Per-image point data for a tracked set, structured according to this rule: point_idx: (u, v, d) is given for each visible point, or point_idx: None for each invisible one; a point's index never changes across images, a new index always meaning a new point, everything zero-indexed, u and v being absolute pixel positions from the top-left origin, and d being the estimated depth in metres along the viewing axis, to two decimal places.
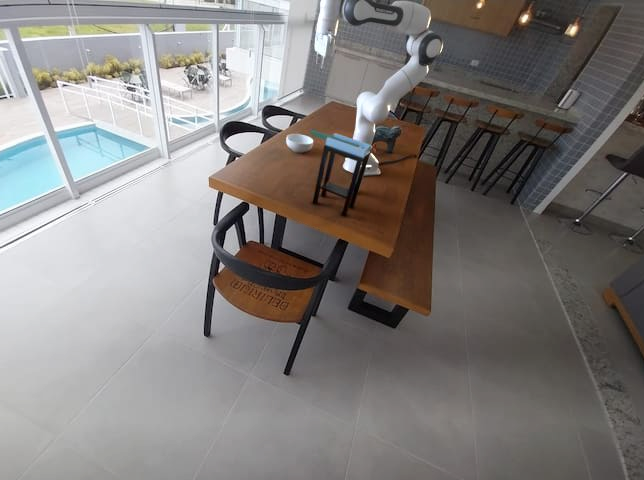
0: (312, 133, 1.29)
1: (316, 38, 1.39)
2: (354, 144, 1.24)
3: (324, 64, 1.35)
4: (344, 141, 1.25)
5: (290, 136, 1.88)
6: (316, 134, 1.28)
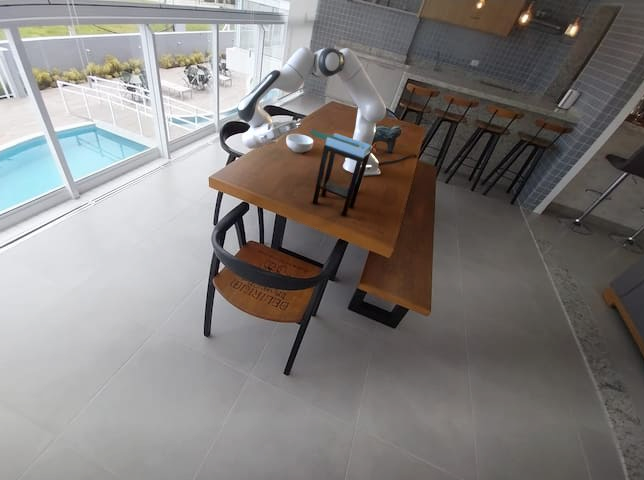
0: (312, 133, 1.29)
1: (288, 131, 1.43)
2: (354, 144, 1.24)
3: (285, 128, 1.29)
4: (344, 141, 1.25)
5: (290, 136, 1.87)
6: (316, 134, 1.28)
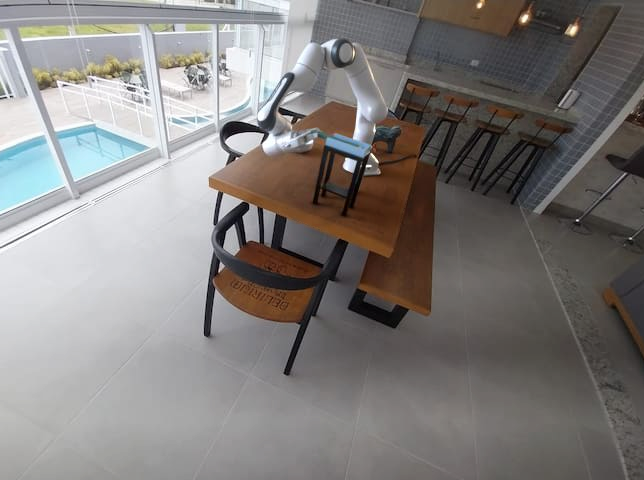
0: (312, 133, 1.29)
1: None
2: (354, 144, 1.24)
3: (313, 135, 1.28)
4: (344, 141, 1.25)
5: None
6: None
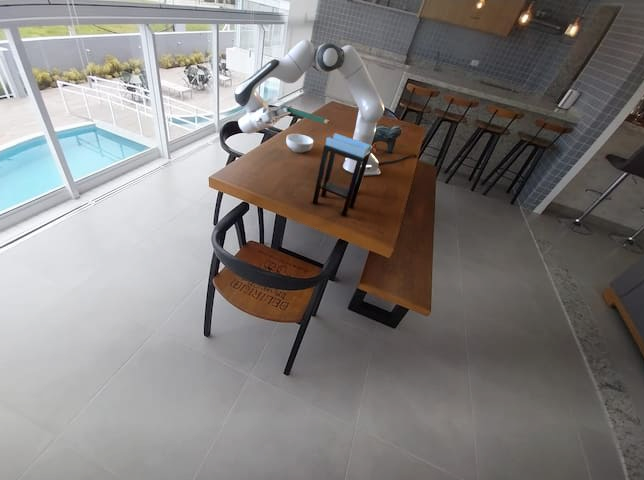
0: (282, 108, 1.36)
1: (283, 115, 1.47)
2: (321, 117, 1.31)
3: (283, 110, 1.35)
4: (312, 115, 1.32)
5: (290, 136, 1.87)
6: None
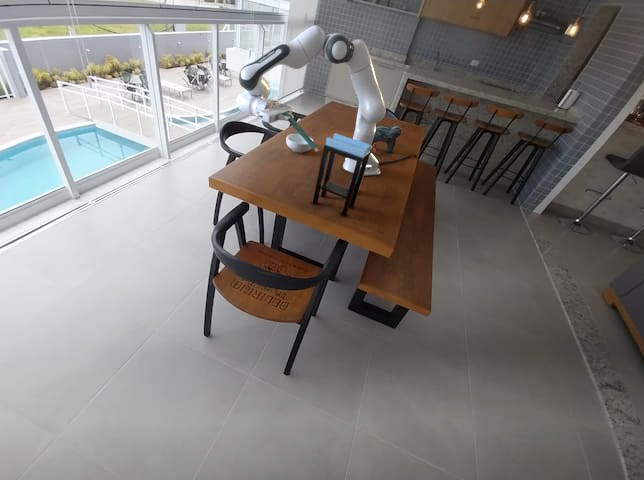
0: (284, 115, 1.42)
1: None
2: (314, 144, 1.44)
3: (284, 118, 1.41)
4: (307, 137, 1.43)
5: (290, 136, 1.87)
6: None
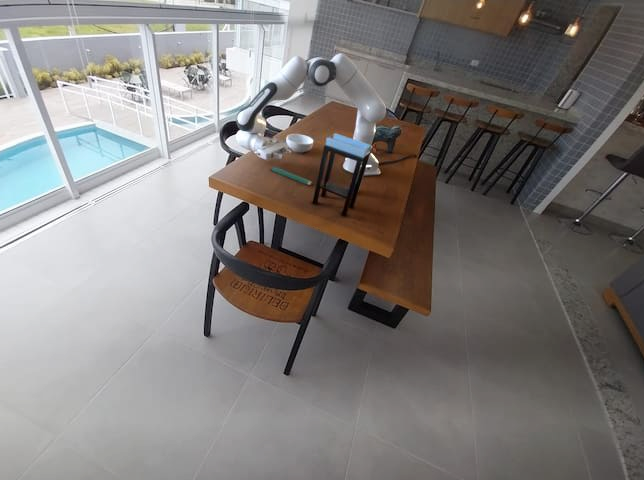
0: (273, 169, 1.61)
1: None
2: (305, 179, 1.57)
3: (278, 156, 1.51)
4: (297, 177, 1.58)
5: (290, 136, 1.87)
6: (276, 170, 1.61)
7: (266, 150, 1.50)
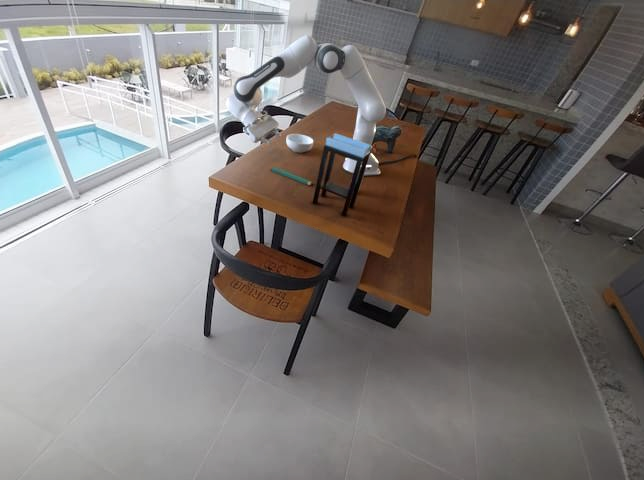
0: (273, 170, 1.62)
1: None
2: (305, 180, 1.57)
3: (265, 141, 1.49)
4: (297, 177, 1.58)
5: (290, 136, 1.87)
6: (276, 171, 1.61)
7: (256, 132, 1.47)
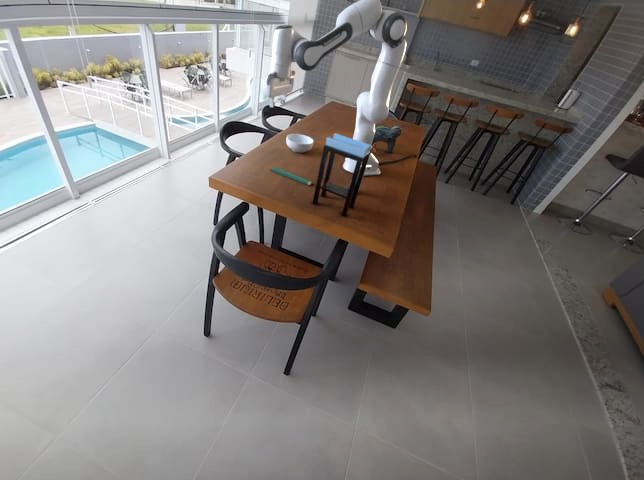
0: (273, 170, 1.62)
1: None
2: (305, 180, 1.57)
3: (271, 103, 1.39)
4: (297, 177, 1.58)
5: (290, 136, 1.87)
6: (276, 171, 1.61)
7: (273, 90, 1.33)
